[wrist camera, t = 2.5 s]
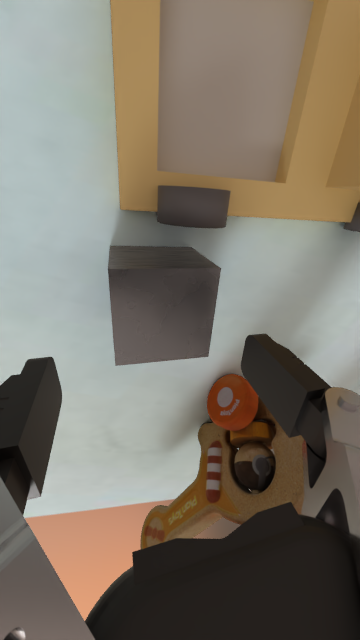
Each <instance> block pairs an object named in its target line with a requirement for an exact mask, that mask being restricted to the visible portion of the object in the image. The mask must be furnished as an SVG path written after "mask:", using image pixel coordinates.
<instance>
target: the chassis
mask: <svg viewBox="0 0 360 640" xmlns="http://www.w3.org/2000/svg"><path fill="white" fill-rule="evenodd" d="M110 4H111V25H112V46H113V67H114V89H115V110H116V131H117V152H118V173H119V194H120V209H121V210H136V211H154V212H157V222H159V223H162V224H168V225H174V226H183V227H195V228H223V227H226V220H227V216H244V217H261V218H279V219H297V220H315V221H333V222H346V223H345V225H344V228H343V229H346V230H351V231H358V232H360V0H110Z"/></svg>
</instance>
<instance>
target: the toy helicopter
mask: <svg viewBox="0 0 360 640" xmlns="http://www.w3.org/2000/svg"><path fill="white" fill-rule="evenodd" d="M207 410H208V414H209V416H210V418H211V420H212V421H213V423H205V424H203V425H202V426H201V427H200V429H199V432H198V440H199V442H200V445H201V458H200V466H199V472H198V475H197V477H196V479H195V480H194V482H193V483H192V484H191V485H190V486H189V487H188V488H187V489H186V490H185V491H184V492H183V493H182V494H181V495H180V496H178V497H177V498H176V499H175V500H174V501H173V502H172V503H171V504H170V505H169V506H163V505H159V506H156V507H154V508H153V509H152V510H151V511H150V512H149V514H148V515H147V517H146V519H145V522H144V525H143V528H142V533H141V549H144V548H147V547H150V546H153V545H157V544H160V543H163V542H166V541H169V540H172V539H175V538H193V537H195V536H196V535H198V534H199V533H201V532H202V531H203V530H205V529H206V528H208V527H209V526H211V525H212V524H214V523H215V522H216V521H218V520H219V519H220V518H222V517H224V518H225V519H227V520H229V521H232V522H234V523H237V524H241V525H242V524H243V523H244V522H246V521H247V520H248V519H249V518H251V517H252V516H253V515H254V514H256V513H257V512H260V511H263V510H266V509H269V508H273V507H276V506H279V505H282V504H285V503H288V502H292V504H293V506H294V508H295V509H296V511H297V513H298V514H301V511H302V506H303V501H304V476H303V455H302V443H303V441H304V438H303V437H302V436H301V435H299V436H295V437H291V438H289V437H288V436H287V435H286V433H285V432H284V430H283V429H282V428H281V426H280V425H279V424H278V422H277V421H276V419H275V418H274V417H273V415H272V414H271V413H270V411H269V410H268V408H267V407H266V406H265V404H264V403H263V402H262V400H261V399H260V397H259V396H258V395H257V393H256V392H255V391H254V389H253V388H252V386H251V385H250V384H249V382H248V381H247V380H246V379H245V378H243V377H241V376H239V375H236V374H229V375H226V376H223V377H222V378H220V379H219V380H218V381H217V382H216V383H215V384H214V385H213V386H212V388H211V390H210V392H209V395H208V399H207ZM237 448H239V450H238V449H237ZM270 449H273V451H274V453H273V452H272V451H271V450H270ZM274 454H275V455H274ZM249 489H250V490H251V491H250V490H249Z"/></svg>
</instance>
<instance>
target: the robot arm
mask: <svg viewBox="0 0 360 640" xmlns="http://www.w3.org/2000/svg"><path fill="white" fill-rule="evenodd" d="M241 369H242V373H243V375H244V377H245V378H246V380H247V381H248V382H249V384H250V385H251V386H252V388H253V389H254V391H255V392H256V393H257V395H258V396H259V397H260V399H261V400H262V402H263V403H264V404H265V406H266V407H267V408H268V410H269V411H270V413H271V414H272V415H273V417H274V418H275V419H276V421H277V422H278V424H279V425H280V426H281V428H282V429H283V430H284V432H285V433H286V435H287V436H288V437H289V438H291V437H295V436H299V435H301V436H302V437H303V438H304V441H303V443H302V455H303V476H304V501H303V506H302V511H301V514H298V513H297V511H296V509H295V508H294V506H293V504H292V502H288V503H285V504H282V505H279V506H276V507H273V508H269V509H266V510H263V511H260V512H257V513H256V514H254V515H253V516H252V517H251V518H249V519H248V520H247V521H246V522H244V523H243V524H242V525H241V526H240V527H238V528H237V529H236V530H234V531H233V532H232V533H231V534H229V535H228V536H227V537H225V538H223V539H193V538H175V539H172V540H169V541H166V542H163V543H160V544H157V545H153V546H150V547H147V548H144V549H141V550H138V551H135V552H133V567H131V568H130V569H128V570H127V571H126V572H124V573H123V574H122V575H121V576H120V577H119V578H118V579H116V580H115V581H114V582H113V583H112V584H111V585H110V587H109V588H108V589H107V590H106V591H105V592H104V594H103V595H102V596H101V597H100V599H99V600H98V602H97V603H96V604H95V606H94V607H93V609H92V610H91V612H90V613H89V615H88V617H87V619H86V620H85V621H84V620H83V618H82V616H81V615H80V613H79V611H78V609H77V608H76V606H75V604H74V603H73V601H72V599H71V597H70V596H69V594H68V592H67V590H66V589H65V587H64V585H63V583H62V582H61V580H60V578H59V577H58V575H57V573H56V571H55V570H54V568H53V566H52V565H51V563H50V561H49V559H48V558H47V556H46V555H45V552H44V551H43V549H42V547H41V545H40V544H39V542H38V540H37V539H36V537H35V535H34V533H33V532H32V530H31V528H30V527H29V525H28V524H27V522H26V520H25V519H24V517H23V513H24V509H25V506H26V502H27V500H28V499H32V498H37V497H41V493H42V489H43V484H44V480H45V475H46V471H47V466H48V462H49V457H50V453H51V448H52V444H53V439H54V435H55V430H56V426H57V422H58V417H59V413H60V408H61V403H62V390H61V385H60V382H59V378H58V374H57V370H56V366H55V362H54V359H53V358H52V357H44V358H35V359H28V360H27V362H26V364H25V366H24V368H23V370H22V372H21V374H19V375H12V376H10V377H9V378H8V379H7V380H6V381H5V382H4V383H3V384H2V385H0V640H360V395H358V394H357V393H355V392H353V391H350V390H347V389H344V388H338V387H333V388H332V387H330V386H329V385H328V384H327V383H326V382H325V381H324V380H323V379H321V378H320V377H319V376H318V375H317V374H316V373H315V372H314V371H312V370H311V369H310V368H309V367H308V366H307V365H306V364H305V365H304V363H303V362H302V361H301V360H300V359H299V358H297V356H296V355H294V354H293V353H292V352H291V351H290V350H289V349H287V348H285V347H283V346H282V345H280V344H278V343H276V342H275V341H273V340H272V339H271V338H270V337H269V336H268V335H267V334H256V335H249V336H247V338H246V341H245V346H244V351H243V356H242V361H241ZM270 450H271V451H272V452H273V453H274V451H273V449H270ZM274 455H275V454H274Z"/></svg>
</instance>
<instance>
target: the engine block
mask: <svg viewBox="0 0 360 640" xmlns="http://www.w3.org/2000/svg"><path fill="white" fill-rule="evenodd" d="M220 271H221V268H220V267H218V266H217V265H215V264H214V263H213V262H211V261H210V260H208V259H207V258H206V257H204V256H203V255H201V254H200V253H199V252H197V251H196V250H194V249H193V248H192V247H153V246H110V251H109V263H108V274H109V287H110V300H111V313H112V326H113V338H114V351H115V364H116V366H117V365H128V364H138V363H148V362H158V361H168V360H178V359H189V358H199V357H208V354H209V347H210V341H211V334H212V327H213V320H214V313H215V306H216V299H217V292H218V285H219V278H220Z"/></svg>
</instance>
